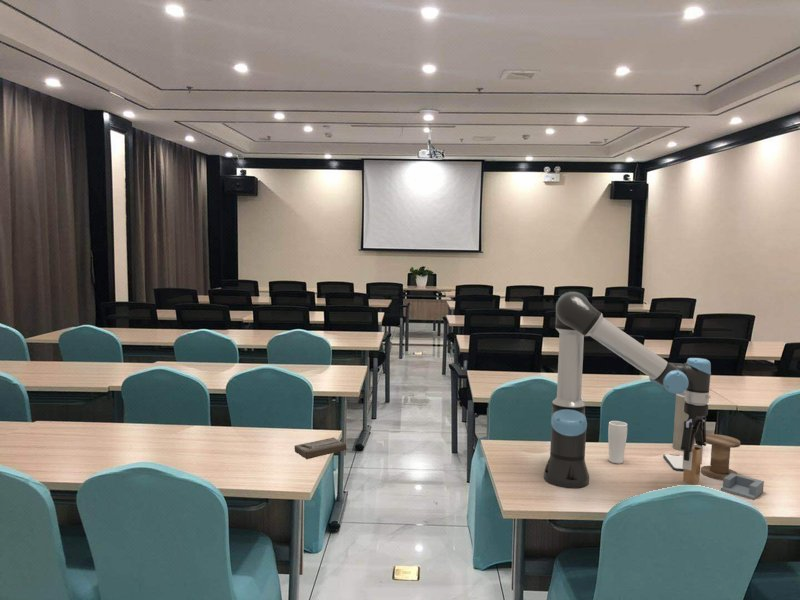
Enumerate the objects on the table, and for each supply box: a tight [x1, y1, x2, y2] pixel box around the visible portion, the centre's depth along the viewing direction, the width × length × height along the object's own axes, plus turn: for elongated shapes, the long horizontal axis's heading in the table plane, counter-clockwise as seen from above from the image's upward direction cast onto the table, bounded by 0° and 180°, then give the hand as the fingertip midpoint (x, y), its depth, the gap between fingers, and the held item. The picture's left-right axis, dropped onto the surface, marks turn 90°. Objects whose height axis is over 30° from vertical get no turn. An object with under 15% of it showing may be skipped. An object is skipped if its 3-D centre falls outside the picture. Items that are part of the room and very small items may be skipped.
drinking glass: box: [607, 420, 628, 465], centre depth 229 cm, size 7×7×15 cm
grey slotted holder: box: [720, 473, 765, 500], centre depth 203 cm, size 10×10×4 cm
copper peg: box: [682, 446, 702, 485], centre depth 211 cm, size 4×4×12 cm
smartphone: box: [662, 453, 684, 473], centre depth 229 cm, size 9×2×16 cm
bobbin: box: [700, 433, 741, 481], centre depth 218 cm, size 12×12×13 cm
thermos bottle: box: [672, 391, 695, 452], centre depth 247 cm, size 8×8×28 cm
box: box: [293, 437, 348, 460], centre depth 231 cm, size 11×17×3 cm, turn 125°
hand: (692, 466), depth 211 cm, fingers open, 9 cm apart
